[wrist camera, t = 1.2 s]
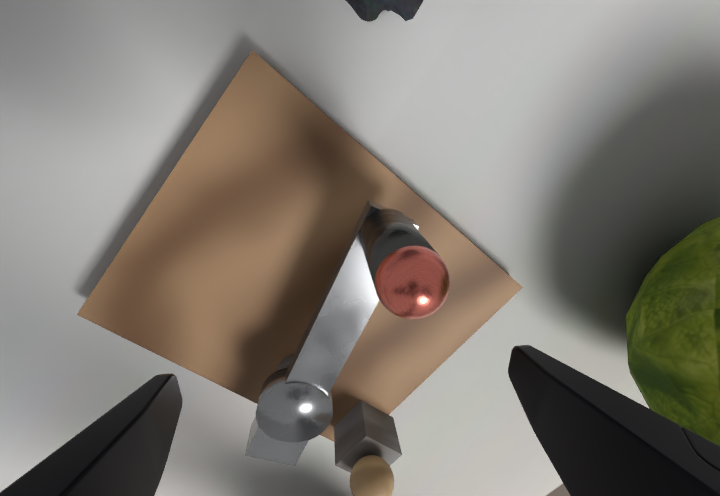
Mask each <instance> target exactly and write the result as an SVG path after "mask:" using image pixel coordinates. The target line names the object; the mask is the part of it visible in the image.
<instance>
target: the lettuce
mask: <svg viewBox="0 0 720 496" xmlns="http://www.w3.org/2000/svg"><path fill="white" fill-rule="evenodd" d="M626 331H627V349H628V365H629V369H630V373H631V375H632V377H633V379H634V381H635V382H636V384H637V386H638V388H639V390H640V392H641V393H642V395H643V397H644V399H645V401H646V403H647V404H648V406H649V408H650V410H652V411H654V412H656V413H658V414H660V415H662V416H664V417H666V418H667V419H669V420H671V421H673V422H675V423H677V424H679V425H680V427H685V428H686V429H688V430H690V431H692V432H694V433H696V434H698V435H700V436H701V437H703V438H705V439H707V440H709V441H711V442H713V443H715V444H717V445H719V446H720V217H717V218H715V219H713V220H710V221H708V222H705V223H703V224H701V225H699V226H698V227H697V228H696V229H695V230H693V231H692V232H691V233H690V234H688V235H687V236H686V237H685V238H683V239H682V240H681V241H680V242H679V243H677V244H676V245H675V246H674V247H672V248H671V249H670V250H669V251H668V252H666V253H665V254H664V255H663V256H661V257H660V259H659V260H658V261H657V262H656V264H655V265H654V266H653V267H652V269H651V270H650V271H649V272H648V274H647V275H646V277H645V279H644V281H643V283H642V285H641V287H640V289H639V291H638V293H637V295H636V297H635V299H634V301H633V303H632V305H631V307H630V309H629V311H628V313H627V315H626Z"/></svg>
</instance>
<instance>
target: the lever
mask: <svg viewBox="0 0 720 496" xmlns="http://www.w3.org/2000/svg"><path fill="white" fill-rule="evenodd" d="M418 228H419V226H418V225H417V224H416V223H415V221H414V220H413V219H410V218H408V217H406V216H405V215H404V214H403V213H402V212H400V211H398V210H395V209H388V208H386V207H383V206H381V205H379V204H377V203H374V202H372V201H370V200H367V203H366V205H365V207H364V209H363V211H362V213H361V215H360V217H359V219H358V221H357V223H356V226H355V228H354V230H353V232H352V234H351V236H350V238H349V240H348V242H347V244H346V246H345V249H344V251H343V253H342V255H341V257H340V259H339V261H338V263H337V265H336V267H335V269H334V272H333V274H332V276H331V278H330V280H329V282H328V284H327V286H326V288H325V290H324V292H323V295H322V297H321V299H320V301H319V303H318V305H317V307H316V309H315V311H314V313H313V315H312V318H311V320H310V322H309V324H308V326H307V328H306V330H305V332H304V334H303V336H302V338H301V341H300V343H299V345H298V347H297V349H296V351H295V353H294V355H293V357H292V359H291V361H290V364H289V366H288V367H285V368H282V369H280V370H277V371H276V372H274V373H272V374H271V375H270V376H269V377H268V378H267V379H266V380H265V381H264V383H263V385H262V388H261V392H260V396H259V401H258V406H257V410H256V417H255V419H254V421H253V423H252V426H251V431H250V435H249V440H248V445H247V449H246V454H245V455H246V456H251V457H256V458H261V459H265V460H270V461H275V462H280V463H285V464H289V465H294V466H295V464H296V462H297V460H298V459H299V457H300V455H301V453H302V451H303V450H304V448H305V446H306V444H307V442H308V440H310V439H312V438H314V437H316V436H318V435H320V434H321V433H322V432H323V431H325V429H326V428H327V427H328V426H329V424H330V422H331V420H332V416H333V407H332V387H333V385H334V383H335V381H336V379H337V377H338V375H339V374H340V372H341V370H342V368H343V366H344V364H345V363H346V361H347V359H348V357H349V355H350V353H351V351H352V350H353V348H354V346H355V344H356V342H357V340H358V339H359V337H360V335H361V333H362V331H363V329H364V327H365V326H366V324H367V322H368V320H369V318H370V316H371V315H372V313H373V311H374V309H375V307H376V305H377V303H378V302H379V300H380V302H381V303H382V304H383V306H384V307H385V308H386V309H387V310H388V311H390V312H391V313H393V314H394V315H396V316H399V317H401V318H405V319H421V318H424V317H427V316H430V315H431V314H433V313H435V312H436V311H437V310H438V309H439V308H440V307H441V306H442V305H443V303H444V302H445V300H446V298H447V296H448V293H449V289H450V275H449V271H448V268H447V266H446V264H445V262H444V261H443V259H442V258H441V257H440V256H439V254H438V253H437V252H436V251H435V250H434V249H433V247H432V246H431V245H430V244H429V243H428V241H427V240H426V239H425V238H424V237H423V235H422V234H421V233H420V232H419V231H418Z"/></svg>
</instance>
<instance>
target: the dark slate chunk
mask: <svg viewBox="0 0 720 496" xmlns="http://www.w3.org/2000/svg"><path fill="white" fill-rule="evenodd" d="M346 1H347V2H348V3H349V4H350V5H351V6H352V8H353V9H354V10H355V12H356V13H357V15H358V16H359V17H360V18H361V19H362V20H365V21H373V20H375V19H377V17H378V15H379V14H380V13H381V12H382V11H383V10H387V11H390V10H392V11H393V12H395V13H397V14H399V15H400V16H401V17H402V18H403V19H404V20H405V21H407V20H410V19H413V17H414V16H415V14H416V12H417V11H418V9H419V7H420V6H421V4H422V2H423V0H346Z"/></svg>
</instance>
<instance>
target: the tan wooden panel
mask: <svg viewBox="0 0 720 496" xmlns="http://www.w3.org/2000/svg"><path fill="white" fill-rule="evenodd" d="M367 200H370V201H372V202H374V203H377V204H379V205H381V206H383V207H386V208H388V209H395V210H398V211H400V212H402V213H403V214H404V215H405V216H406V217H408V218H410V219H413V220H414V221H415V223H416V224H417V225H418V226H419V228H418V231H419V232H420V233H421V234H422V235H423V237H424V238H425V239H426V240H427V241H428V243H429V244H430V245H431V246H432V247H433V249H434V250H435V251H436V252H437V253H438V254H439V256H440V257H441V258H442V259H443V261H444V262H445V264H446V266H447V268H448V271H449V275H450V289H449V293H448V296H447V298H446V300H445V302H444V303H443V305H442V306H441V307H440V308H439V309H438V310H437V311H436V312H435V313H433V314H431V315H430V316H427V317H424V318H421V319H405V318H401V317H399V316H396V315H394V314H393V313H391V312H390V311H388V310H387V309H386V308H385V307H384V306H383V304H382V303H381V302H380V300H379V302H378V303H377V305H376V307H375V309H374V311H373V313H372V315H371V316H370V318H369V320H368V322H367V324H366V326H365V327H364V329H363V331H362V333H361V335H360V337H359V339H358V340H357V342H356V344H355V346H354V348H353V350H352V351H351V353H350V355H349V357H348V359H347V361H346V363H345V364H344V366H343V368H342V370H341V372H340V374H339V375H338V377H337V379H336V381H335V383H334V385H333V387H332V407H333V416H332V420H331V422H330V424H329V426H328V427H327V428H326V429H325V431H323V432H322V433H321V434H320V435H322V436H324V437H326V438H328V439H330V440H332V441H334V442H335V465H336V466H338V467H340V468H342V469H344V470H346V471H348V472H351V475H350V488H351V492H352V494H353V496H391V495H392V492H393V488H394V477H393V473H392V470H391V468H390V465H391V464H392V463H393V462H394V461H395V460H396V459H398V458H399V457H400V456H401V455H402V453H401V449H400V444H399V440H398V436H397V432H396V428H395V424H394V419H393V417H391V416H389V414H390V413H391V412H392V411H393V410H394V409H395V408H396V407H397V406H398V405H399V404H400V403H401V402H402V401H404V400H405V399H406V398H407V397H408V396H409V395H410V394H411V393H412V392H413V391H414V390H415V389H416V388H417V387H418V386H419V385H420V384H421V383H422V382H424V381H425V380H426V379H427V378H428V377H429V376H430V375H431V374H432V373H433V372H434V371H435V370H436V369H437V368H438V367H439V366H440V365H441V364H442V363H443V362H445V361H446V360H447V359H448V358H449V357H450V356H451V355H452V354H453V353H454V352H455V351H456V350H457V349H458V348H459V347H460V346H461V345H462V344H463V343H465V342H466V341H467V340H468V339H469V338H470V337H471V336H472V335H473V334H474V333H475V332H476V331H477V330H478V329H479V328H480V327H481V326H482V325H483V324H484V323H486V322H487V321H488V320H489V319H490V318H491V317H492V316H493V315H494V314H495V313H496V312H497V311H498V310H499V309H500V308H501V307H502V306H503V305H504V304H506V303H507V302H508V301H509V300H510V299H511V298H512V297H513V296H514V295H515V294H516V293H517V292H518V291H519V290H520V289H521V288H522V286H521V285H519V284H518V283H517V282H516V281H515V280H514V279H513V278H511V277H510V276H509V275H508V274H507V273H506V272H505V271H504V270H502V269H501V268H500V267H499V266H498V265H497V264H496V263H494V262H493V261H492V260H491V259H490V258H489V257H488V256H486V255H485V254H484V253H483V252H482V251H481V250H480V249H478V248H477V247H476V246H475V245H474V244H473V243H472V242H470V241H469V240H468V239H467V238H466V237H465V236H464V235H462V234H461V233H460V232H459V231H458V230H457V229H456V228H455V227H453V226H452V225H451V224H450V223H449V222H448V221H447V220H445V219H444V218H443V217H442V216H441V215H440V214H439V213H437V212H436V211H435V210H434V209H433V208H432V207H431V206H429V205H428V204H427V203H426V202H425V201H424V200H423V199H421V198H420V197H419V196H418V195H417V194H416V193H415V192H414V191H412V190H411V189H410V188H409V187H408V186H407V185H406V184H404V183H403V182H402V181H401V180H400V179H399V178H398V177H396V176H395V175H394V174H393V173H392V172H391V171H390V170H388V169H387V168H386V167H385V166H384V165H383V164H382V163H380V162H379V161H378V160H377V159H376V158H375V157H374V156H372V155H371V154H370V153H369V152H368V151H367V150H366V149H365V148H363V147H362V146H361V145H360V144H359V143H358V142H357V141H355V140H354V139H353V138H352V137H351V136H350V135H349V134H347V133H346V132H345V131H344V130H343V129H342V128H341V127H339V126H338V125H337V124H336V123H335V122H334V121H333V120H331V119H330V118H329V117H328V116H327V115H326V114H325V113H324V112H322V111H321V110H320V109H319V108H318V107H317V106H316V105H314V104H313V103H312V102H311V101H310V100H309V99H308V98H306V97H305V96H304V95H303V94H302V93H301V92H300V91H298V90H297V89H296V88H295V87H294V86H293V85H292V84H290V83H289V82H288V81H287V80H286V79H285V78H284V77H282V76H281V75H280V74H279V73H278V72H277V71H276V70H275V69H273V68H272V67H271V66H270V65H269V64H268V63H267V62H265V61H264V60H263V59H262V58H261V57H260V56H259V55H257V54H256V53H255V52H254V51H253V50H252V51H251V52H250V54H249V55H248V57H247V58H246V60H245V62H244V63H243V65H242V66H241V68H240V69H239V71H238V72H237V74H236V75H235V77H234V78H233V80H232V81H231V83H230V84H229V86H228V87H227V89H226V90H225V92H224V93H223V95H222V96H221V98H220V99H219V101H218V102H217V104H216V105H215V107H214V108H213V110H212V111H211V113H210V114H209V116H208V117H207V119H206V120H205V122H204V123H203V125H202V126H201V128H200V129H199V131H198V132H197V134H196V135H195V137H194V138H193V140H192V142H191V143H190V145H189V146H188V148H187V149H186V151H185V152H184V154H183V155H182V157H181V158H180V160H179V161H178V163H177V164H176V166H175V167H174V169H173V170H172V172H171V173H170V175H169V176H168V178H167V179H166V181H165V182H164V184H163V185H162V187H161V188H160V190H159V191H158V193H157V194H156V196H155V197H154V199H153V200H152V202H151V203H150V205H149V206H148V208H147V209H146V211H145V212H144V214H143V215H142V217H141V219H140V220H139V222H138V223H137V225H136V226H135V228H134V229H133V231H132V232H131V234H130V235H129V237H128V238H127V240H126V241H125V243H124V244H123V246H122V247H121V249H120V250H119V252H118V253H117V255H116V256H115V258H114V259H113V261H112V262H111V264H110V265H109V267H108V268H107V270H106V271H105V273H104V274H103V276H102V277H101V279H100V280H99V282H98V283H97V285H96V286H95V288H94V289H93V291H92V292H91V294H90V296H89V297H88V299H87V300H86V302H85V303H84V305H83V306H82V308H81V309H80V311H79V312H78V314H77V315H79V316H81V317H83V318H85V319H87V320H89V321H91V322H93V323H95V324H97V325H99V326H101V327H103V328H105V329H107V330H109V331H111V332H113V333H115V334H117V335H119V336H121V337H123V338H125V339H127V340H129V341H131V342H133V343H135V344H137V345H139V346H141V347H143V348H146V349H148V350H150V351H152V352H154V353H156V354H158V355H160V356H162V357H164V358H166V359H168V360H170V361H172V362H174V363H176V364H178V365H180V366H182V367H184V368H186V369H188V370H190V371H192V372H194V373H196V374H198V375H200V376H202V377H204V378H206V379H208V380H210V381H212V382H214V383H216V384H218V385H220V386H222V387H224V388H226V389H228V390H230V391H233V392H235V393H237V394H239V395H241V396H243V397H245V398H247V399H249V400H251V401H253V402H255V403H257V404H258V401H259V396H260V392H261V388H262V385H263V383H264V381H265V380H266V379H267V378H268V377H269V376H270V375H271V374H272V373H274V372H276V371H277V370H280V369H282V368H285V367H288V366H289V364H290V361H291V359H292V357H293V355H294V353H295V351H296V349H297V347H298V345H299V343H300V341H301V338H302V336H303V334H304V332H305V330H306V328H307V326H308V324H309V322H310V320H311V318H312V315H313V313H314V311H315V309H316V307H317V305H318V303H319V301H320V299H321V297H322V295H323V292H324V290H325V288H326V286H327V284H328V282H329V280H330V278H331V276H332V274H333V272H334V269H335V267H336V265H337V263H338V261H339V259H340V257H341V255H342V253H343V251H344V249H345V246H346V244H347V242H348V240H349V238H350V236H351V234H352V232H353V230H354V228H355V226H356V223H357V221H358V219H359V217H360V215H361V213H362V211H363V209H364V207H365V205H366V203H367Z"/></svg>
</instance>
